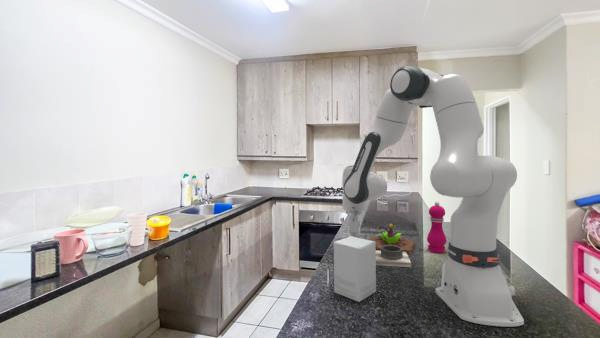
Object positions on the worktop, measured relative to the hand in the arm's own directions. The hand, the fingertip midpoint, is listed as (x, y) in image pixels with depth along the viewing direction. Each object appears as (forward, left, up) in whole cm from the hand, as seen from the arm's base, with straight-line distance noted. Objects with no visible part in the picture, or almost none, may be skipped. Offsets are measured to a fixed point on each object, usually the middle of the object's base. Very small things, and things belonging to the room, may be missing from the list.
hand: (354, 239), depth 123 cm
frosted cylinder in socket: (0, 0, -5) cm, 4 cm away
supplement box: (-36, -1, -6) cm, 36 cm away
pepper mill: (+6, -33, -5) cm, 34 cm away
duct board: (-8, -14, -5) cm, 17 cm away
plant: (+8, -15, -6) cm, 18 cm away
